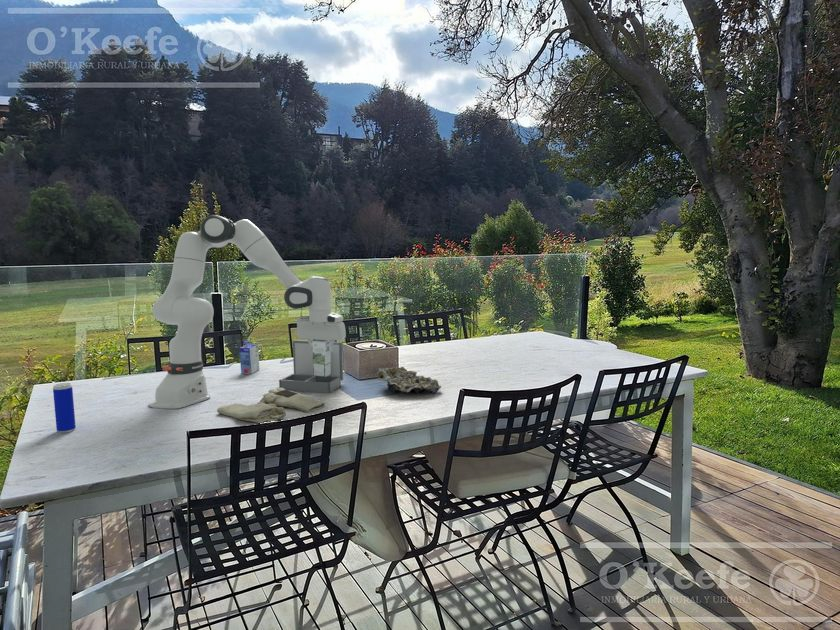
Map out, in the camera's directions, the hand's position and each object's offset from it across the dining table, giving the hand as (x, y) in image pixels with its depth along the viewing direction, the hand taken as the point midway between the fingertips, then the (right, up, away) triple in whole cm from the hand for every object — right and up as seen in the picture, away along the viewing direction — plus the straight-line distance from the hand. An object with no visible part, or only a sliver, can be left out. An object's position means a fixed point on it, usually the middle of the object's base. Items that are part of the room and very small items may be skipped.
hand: (321, 350), depth 229 cm
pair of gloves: (-13, -20, -28) cm, 36 cm away
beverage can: (-73, -23, -48) cm, 90 cm away
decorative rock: (+35, -16, 0) cm, 38 cm away
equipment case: (-5, -15, +4) cm, 17 cm away
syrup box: (0, -10, +2) cm, 11 cm away
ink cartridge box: (-39, -12, +33) cm, 52 cm away
